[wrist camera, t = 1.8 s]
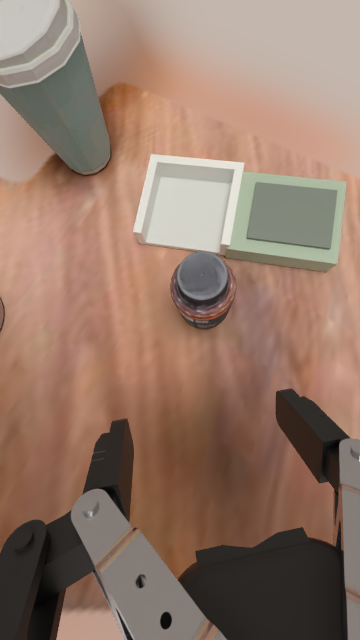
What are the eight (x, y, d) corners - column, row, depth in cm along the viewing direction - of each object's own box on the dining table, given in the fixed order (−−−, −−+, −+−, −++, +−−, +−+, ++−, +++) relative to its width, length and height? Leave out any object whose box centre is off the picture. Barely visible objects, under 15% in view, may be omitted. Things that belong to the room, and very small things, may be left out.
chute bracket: (139, 243, 32) (132, 231, 29) (156, 172, 34) (151, 154, 31) (227, 255, 31) (229, 245, 28) (240, 180, 32) (244, 162, 29)
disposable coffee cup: (64, 199, 34) (-41, 78, 20) (46, 138, 36) (-62, -13, 22) (135, 171, 34) (81, 26, 19) (113, 111, 36) (48, -62, 21)
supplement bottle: (213, 273, 30) (219, 224, 19) (237, 315, 29) (257, 289, 18) (171, 296, 31) (152, 260, 19) (193, 338, 29) (186, 326, 18)
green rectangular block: (225, 257, 31) (227, 247, 28) (237, 185, 32) (241, 168, 29) (326, 272, 29) (339, 262, 26) (335, 196, 30) (348, 179, 28)
